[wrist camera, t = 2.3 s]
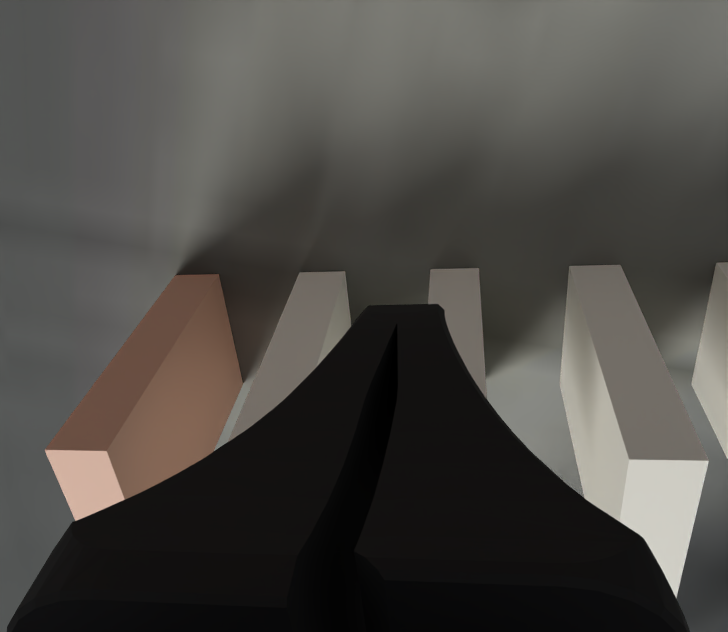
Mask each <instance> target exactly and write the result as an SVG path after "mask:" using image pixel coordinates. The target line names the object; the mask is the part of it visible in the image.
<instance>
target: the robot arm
mask: <svg viewBox="0 0 728 632" xmlns="http://www.w3.org/2000/svg"><path fill="white" fill-rule="evenodd" d="M7 632H690V631H689V628H688V625H687V622H686V620H685V617H684V614H683V612H682V610H681V608H680V606H679V604H678V601H677V599H676V597H675V595H674V593H673V591H672V589H671V587H670V585H669V583H668V581H667V579H666V577H665V575H664V573H663V571H662V569H661V567H660V565H659V564H658V562H657V560H656V558H655V556H654V555H653V553H652V551H651V549H650V548H649V546H648V544H647V543H646V541H645V539H644V538H643V537H642V536H640V535H639V534H638V533H636V532H634V531H633V530H631V529H630V528H628V527H627V526H625V525H624V524H622V523H621V522H619V521H618V520H616V519H615V518H613V517H612V516H610V515H609V514H607V513H606V512H604V511H602V510H601V509H599V508H598V507H596V506H595V505H593V504H592V503H590V502H589V501H587V500H586V499H585V498H583V497H582V496H581V495H580V494H578V493H577V492H576V491H574V490H573V489H572V488H571V487H569V486H568V485H567V484H566V483H564V482H563V481H562V480H561V479H560V478H559V477H558V476H557V475H556V474H555V473H554V472H553V471H551V470H550V469H549V468H548V467H547V466H546V465H545V464H544V463H543V462H542V461H541V460H539V459H538V458H537V457H536V456H535V455H534V454H533V453H532V452H531V451H530V450H529V449H528V448H527V447H526V446H525V445H524V444H523V443H522V442H521V440H520V439H519V438H518V437H517V436H516V435H515V434H514V433H513V432H512V431H511V429H510V428H509V427H508V426H507V425H506V423H505V422H504V421H503V420H502V419H501V417H500V416H499V415H498V414H497V412H496V411H495V410H494V408H493V407H492V406H491V404H490V403H489V402H488V400H487V399H486V397H485V396H484V394H483V393H482V391H481V390H480V388H479V387H478V385H477V384H476V382H475V381H474V379H473V378H472V376H471V374H470V373H469V371H468V369H467V367H466V365H465V364H464V362H463V360H462V358H461V356H460V354H459V352H458V350H457V348H456V346H455V344H454V342H453V339H452V337H451V335H450V332H449V329H448V326H447V323H446V319H445V310H444V309H443V308H442V307H441V306H440V305H439V304H412V305H373V306H368V307H367V308H366V309H365V310H364V311H363V312H362V313H361V314H360V316H359V317H358V318H357V319H356V321H355V322H354V323H353V325H352V326H351V327H350V328H349V330H348V331H347V332H346V333H345V335H344V336H343V337H342V338H341V339H340V341H339V342H338V343H337V344H336V345H335V347H334V348H333V349H332V350H331V351H330V352H329V353H328V355H327V356H326V357H325V358H324V359H323V360H322V361H321V362H320V364H319V365H318V366H317V367H316V368H315V369H314V370H313V371H312V372H311V373H310V374H309V375H308V376H307V377H306V378H305V379H304V380H303V381H302V382H301V383H300V384H299V385H298V386H297V387H296V388H295V389H294V390H293V391H292V392H291V393H290V394H289V395H288V396H287V397H286V398H285V399H284V400H283V401H282V402H281V403H279V404H278V405H277V406H276V407H275V408H274V409H272V410H271V411H270V412H269V413H267V414H266V415H265V416H264V417H262V418H261V419H260V420H258V421H257V422H256V423H255V424H253V425H252V426H251V427H249V428H248V429H247V430H245V431H244V432H242V433H241V434H239V435H238V436H236V437H235V438H233V439H232V440H230V441H229V442H227V443H226V444H224V445H223V446H221V447H220V448H218V449H217V450H215V451H214V452H212V453H211V454H209V455H208V456H206V457H205V458H203V459H201V460H200V461H198V462H196V463H195V464H193V465H191V466H189V467H188V468H186V469H184V470H182V471H181V472H179V473H177V474H175V475H173V476H172V477H170V478H168V479H166V480H164V481H162V482H160V483H158V484H156V485H155V486H153V487H151V488H149V489H146V490H144V491H142V492H140V493H138V494H136V495H134V496H132V497H130V498H127V499H125V500H123V501H120V502H118V503H116V504H114V505H111V506H109V507H107V508H105V509H102V510H100V511H98V512H96V513H93V514H91V515H89V516H87V517H84V518H82V519H79V520H77V521H74V522H72V524H71V525H70V526H69V528H68V529H67V531H66V532H65V533H64V535H63V536H62V538H61V539H60V541H59V542H58V544H57V545H56V547H55V548H54V550H53V551H52V553H51V554H50V556H49V558H48V559H47V561H46V563H45V564H44V566H43V568H42V569H41V571H40V572H39V574H38V576H37V577H36V579H35V581H34V582H33V584H32V586H31V587H30V589H29V591H28V592H27V594H26V596H25V597H24V599H23V601H22V602H21V604H20V605H19V607H18V609H17V610H16V612H15V614H14V616H13V617H12V619H11V621H10V623H9V624H8V626H7Z"/></svg>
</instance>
